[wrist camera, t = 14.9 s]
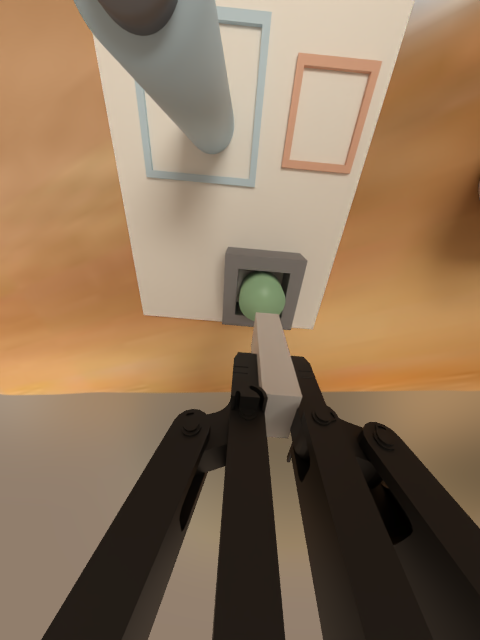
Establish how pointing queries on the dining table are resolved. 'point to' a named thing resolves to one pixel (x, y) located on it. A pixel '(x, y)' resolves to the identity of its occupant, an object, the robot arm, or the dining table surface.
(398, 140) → the dining table surface
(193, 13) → the marker
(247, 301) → the button
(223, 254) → the board
